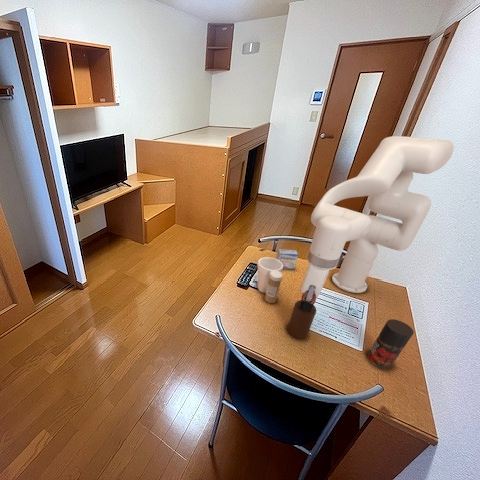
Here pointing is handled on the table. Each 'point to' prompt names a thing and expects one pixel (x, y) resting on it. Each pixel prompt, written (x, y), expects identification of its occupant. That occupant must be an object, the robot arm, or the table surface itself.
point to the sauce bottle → (300, 322)
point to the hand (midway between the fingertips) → (307, 303)
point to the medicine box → (287, 258)
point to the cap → (306, 296)
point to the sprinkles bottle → (273, 286)
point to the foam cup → (266, 271)
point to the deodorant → (390, 343)
